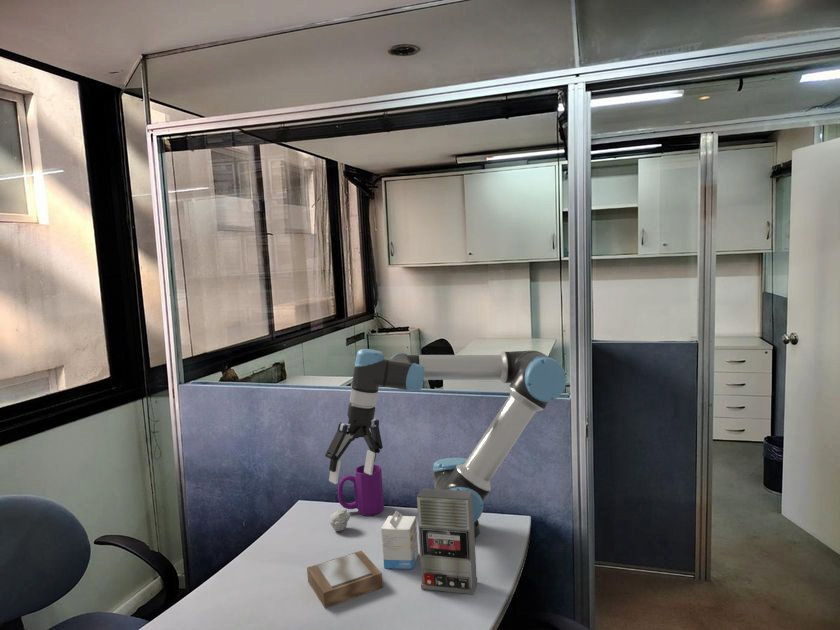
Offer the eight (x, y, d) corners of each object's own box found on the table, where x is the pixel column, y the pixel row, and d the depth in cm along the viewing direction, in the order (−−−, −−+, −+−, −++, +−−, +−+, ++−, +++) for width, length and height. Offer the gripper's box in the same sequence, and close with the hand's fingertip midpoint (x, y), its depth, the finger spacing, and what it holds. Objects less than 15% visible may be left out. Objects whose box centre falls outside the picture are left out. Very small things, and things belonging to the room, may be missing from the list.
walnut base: (362, 563, 161) (361, 549, 160) (382, 587, 148) (381, 571, 148) (308, 581, 153) (306, 566, 153) (324, 608, 141) (323, 591, 140)
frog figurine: (347, 535, 178) (345, 514, 177) (326, 534, 180) (325, 513, 179) (354, 526, 184) (352, 506, 183) (334, 525, 186) (332, 505, 185)
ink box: (412, 570, 156) (409, 523, 155) (383, 568, 158) (380, 522, 156) (418, 554, 164) (416, 510, 163) (391, 552, 166) (388, 509, 165)
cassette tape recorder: (420, 590, 146) (415, 497, 144) (426, 577, 152) (421, 488, 149) (473, 596, 142) (468, 500, 140) (477, 582, 148) (472, 491, 146)
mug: (384, 515, 191) (381, 472, 189) (338, 519, 190) (334, 476, 188) (384, 503, 200) (381, 463, 198) (340, 507, 199) (337, 466, 197)
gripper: (382, 397, 169) (372, 465, 171) (319, 404, 150) (308, 481, 151) (401, 404, 164) (390, 474, 166) (338, 412, 145) (326, 491, 147)
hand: (351, 477), depth 159 cm, fingers open, 13 cm apart
